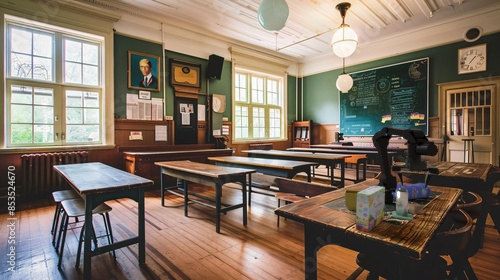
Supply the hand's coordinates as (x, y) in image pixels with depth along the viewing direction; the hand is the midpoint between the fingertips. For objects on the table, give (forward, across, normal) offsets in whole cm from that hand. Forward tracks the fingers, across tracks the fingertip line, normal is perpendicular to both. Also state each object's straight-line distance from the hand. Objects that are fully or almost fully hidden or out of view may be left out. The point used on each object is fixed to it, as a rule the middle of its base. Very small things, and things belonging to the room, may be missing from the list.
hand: (413, 187), depth 119 cm
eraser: (+13, 0, +11) cm, 17 cm away
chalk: (+13, -4, +6) cm, 15 cm away
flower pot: (+13, -26, -7) cm, 30 cm away
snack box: (+13, -17, -26) cm, 34 cm away
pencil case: (+13, +1, +34) cm, 37 cm away
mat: (+13, -5, -8) cm, 16 cm away
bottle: (+12, -5, -7) cm, 15 cm away
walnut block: (+13, +1, +2) cm, 13 cm away
